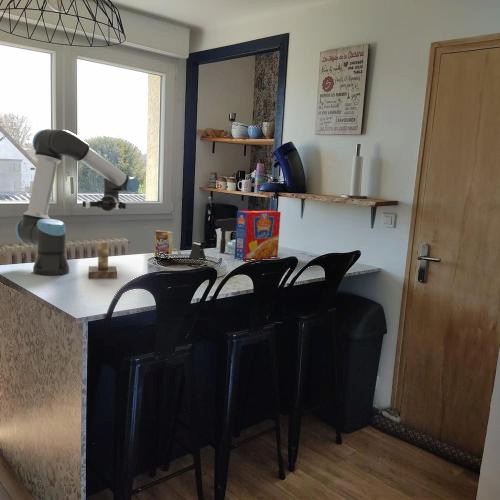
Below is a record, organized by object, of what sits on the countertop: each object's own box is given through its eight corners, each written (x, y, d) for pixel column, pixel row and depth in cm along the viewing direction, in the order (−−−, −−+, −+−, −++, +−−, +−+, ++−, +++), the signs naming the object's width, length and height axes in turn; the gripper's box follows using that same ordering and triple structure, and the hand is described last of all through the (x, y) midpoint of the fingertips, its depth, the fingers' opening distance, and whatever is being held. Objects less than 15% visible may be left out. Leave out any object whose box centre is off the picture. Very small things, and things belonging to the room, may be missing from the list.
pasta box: (243, 261, 276) (246, 212, 272) (234, 259, 282) (237, 211, 277) (277, 258, 296) (280, 212, 291) (267, 255, 301) (270, 210, 297)
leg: (97, 276, 217) (97, 243, 215) (97, 273, 222) (97, 241, 219) (108, 276, 219) (109, 243, 216) (108, 273, 223) (108, 241, 221)
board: (88, 278, 213) (88, 271, 212) (88, 272, 224) (88, 266, 223) (117, 278, 216) (117, 271, 216) (115, 272, 228) (115, 266, 227)
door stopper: (193, 267, 251) (195, 244, 249) (186, 265, 255) (187, 242, 254) (207, 265, 258) (208, 243, 256) (200, 263, 262) (201, 241, 260)
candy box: (154, 258, 270) (154, 230, 268) (157, 256, 274) (158, 230, 272) (168, 259, 267) (169, 232, 265) (172, 258, 271) (173, 231, 269)
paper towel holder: (207, 217, 302) (247, 216, 324) (206, 251, 305) (245, 247, 327) (223, 220, 290) (263, 219, 312) (222, 255, 293) (261, 251, 316)
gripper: (133, 211, 252) (128, 215, 231) (83, 209, 249) (74, 212, 228) (133, 197, 251) (129, 199, 230) (83, 194, 247) (74, 196, 227)
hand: (101, 206), depth 229 cm, fingers open, 13 cm apart
